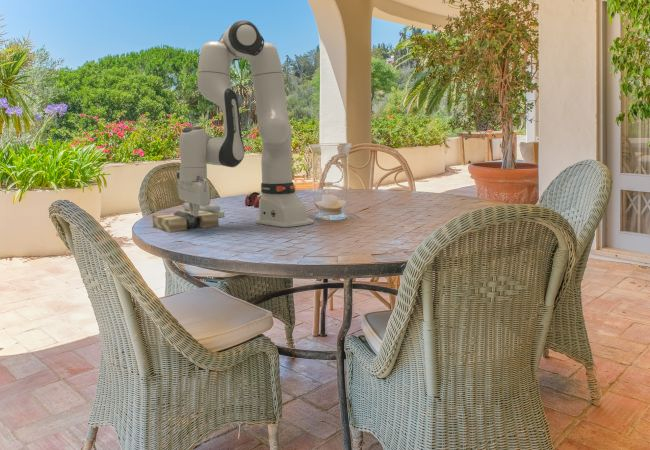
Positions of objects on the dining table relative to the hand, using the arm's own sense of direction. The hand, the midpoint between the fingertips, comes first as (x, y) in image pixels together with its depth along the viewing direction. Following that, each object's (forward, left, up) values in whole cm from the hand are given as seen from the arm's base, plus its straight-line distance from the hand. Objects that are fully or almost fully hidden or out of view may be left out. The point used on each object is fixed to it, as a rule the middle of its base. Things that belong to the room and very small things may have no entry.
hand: (194, 215), depth 193 cm
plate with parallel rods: (+27, -15, -5) cm, 31 cm away
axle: (+10, -1, -5) cm, 12 cm away
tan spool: (+10, -1, -5) cm, 11 cm away
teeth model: (+37, -47, -5) cm, 60 cm away
